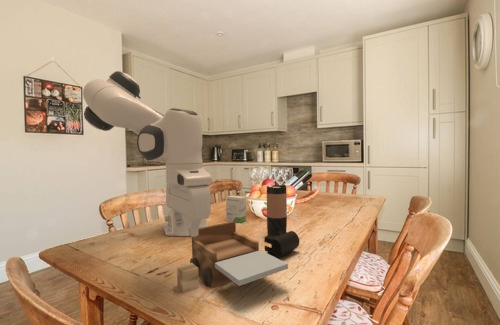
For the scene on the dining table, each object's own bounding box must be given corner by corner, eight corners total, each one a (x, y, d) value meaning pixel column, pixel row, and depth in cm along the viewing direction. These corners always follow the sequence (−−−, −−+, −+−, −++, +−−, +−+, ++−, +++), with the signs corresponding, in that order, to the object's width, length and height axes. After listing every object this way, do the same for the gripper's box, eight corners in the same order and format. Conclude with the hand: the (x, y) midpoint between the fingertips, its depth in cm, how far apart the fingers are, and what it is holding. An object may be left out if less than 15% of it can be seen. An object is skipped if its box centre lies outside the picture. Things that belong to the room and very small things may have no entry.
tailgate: (214, 262, 66) (239, 280, 57) (260, 250, 74) (288, 263, 65) (214, 270, 66) (239, 288, 57) (260, 256, 74) (288, 271, 65)
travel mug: (286, 241, 99) (285, 187, 98) (265, 240, 101) (265, 187, 100) (287, 235, 107) (287, 185, 106) (268, 234, 108) (267, 184, 107)
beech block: (177, 286, 68) (177, 266, 68) (192, 281, 70) (192, 262, 70) (183, 292, 65) (182, 272, 64) (198, 287, 67) (198, 268, 67)
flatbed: (189, 269, 77) (188, 229, 77) (236, 256, 86) (236, 220, 86) (210, 288, 66) (209, 242, 66) (261, 271, 75) (261, 230, 75)
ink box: (225, 221, 130) (225, 196, 129) (232, 218, 134) (231, 195, 134) (240, 223, 125) (240, 198, 125) (246, 220, 130) (246, 196, 129)
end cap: (281, 261, 82) (281, 239, 82) (263, 255, 87) (263, 235, 87) (299, 252, 89) (299, 232, 89) (282, 247, 94) (282, 228, 94)
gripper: (159, 173, 73) (160, 223, 74) (188, 179, 56) (189, 244, 57) (181, 171, 76) (183, 220, 77) (215, 177, 60) (216, 239, 60)
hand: (186, 230), depth 67 cm, fingers open, 8 cm apart
